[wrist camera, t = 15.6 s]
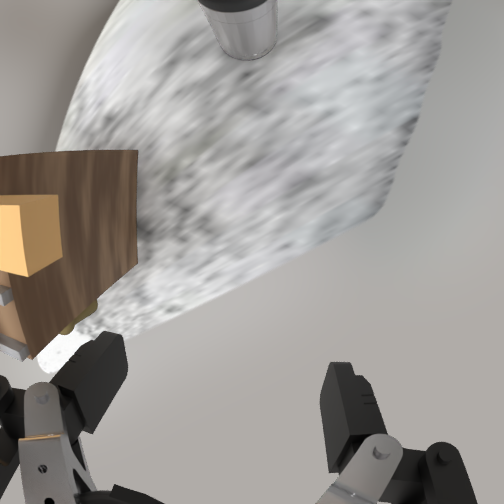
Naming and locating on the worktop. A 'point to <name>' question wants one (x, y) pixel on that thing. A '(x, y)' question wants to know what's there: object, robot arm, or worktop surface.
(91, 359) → the robot arm
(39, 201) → the wooden bar
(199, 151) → the worktop surface
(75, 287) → the walnut stand
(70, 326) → the cork
